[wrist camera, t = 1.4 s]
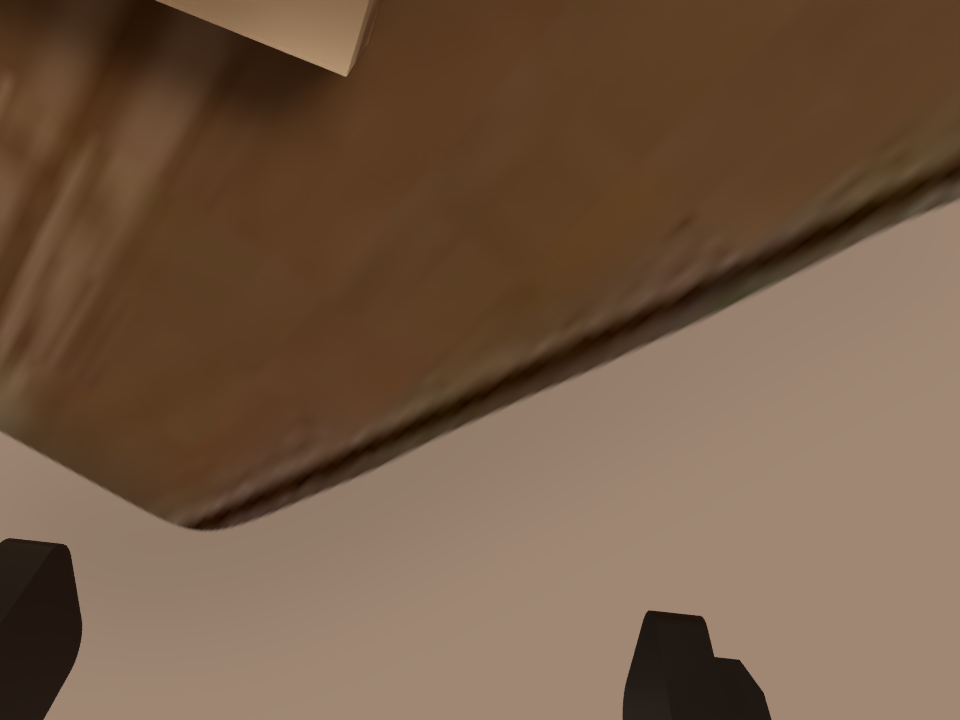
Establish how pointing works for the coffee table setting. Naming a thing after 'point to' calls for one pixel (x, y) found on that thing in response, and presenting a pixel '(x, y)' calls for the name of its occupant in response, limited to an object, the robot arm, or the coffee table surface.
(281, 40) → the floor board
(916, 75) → the coffee table surface
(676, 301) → the coffee table surface
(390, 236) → the coffee table surface
